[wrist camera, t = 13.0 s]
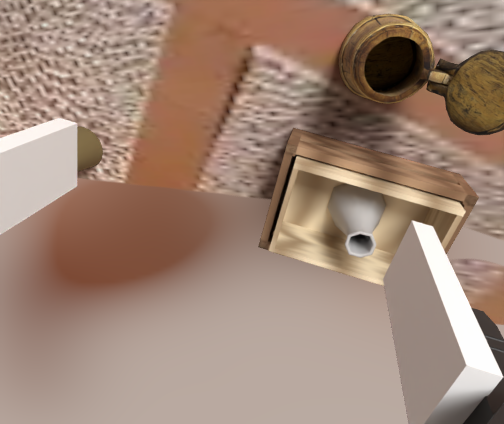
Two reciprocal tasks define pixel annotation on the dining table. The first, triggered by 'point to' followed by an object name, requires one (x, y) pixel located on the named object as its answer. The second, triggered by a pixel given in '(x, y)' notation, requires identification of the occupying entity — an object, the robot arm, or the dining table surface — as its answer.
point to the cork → (87, 149)
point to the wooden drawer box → (367, 164)
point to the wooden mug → (422, 72)
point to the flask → (357, 216)
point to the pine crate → (333, 239)
